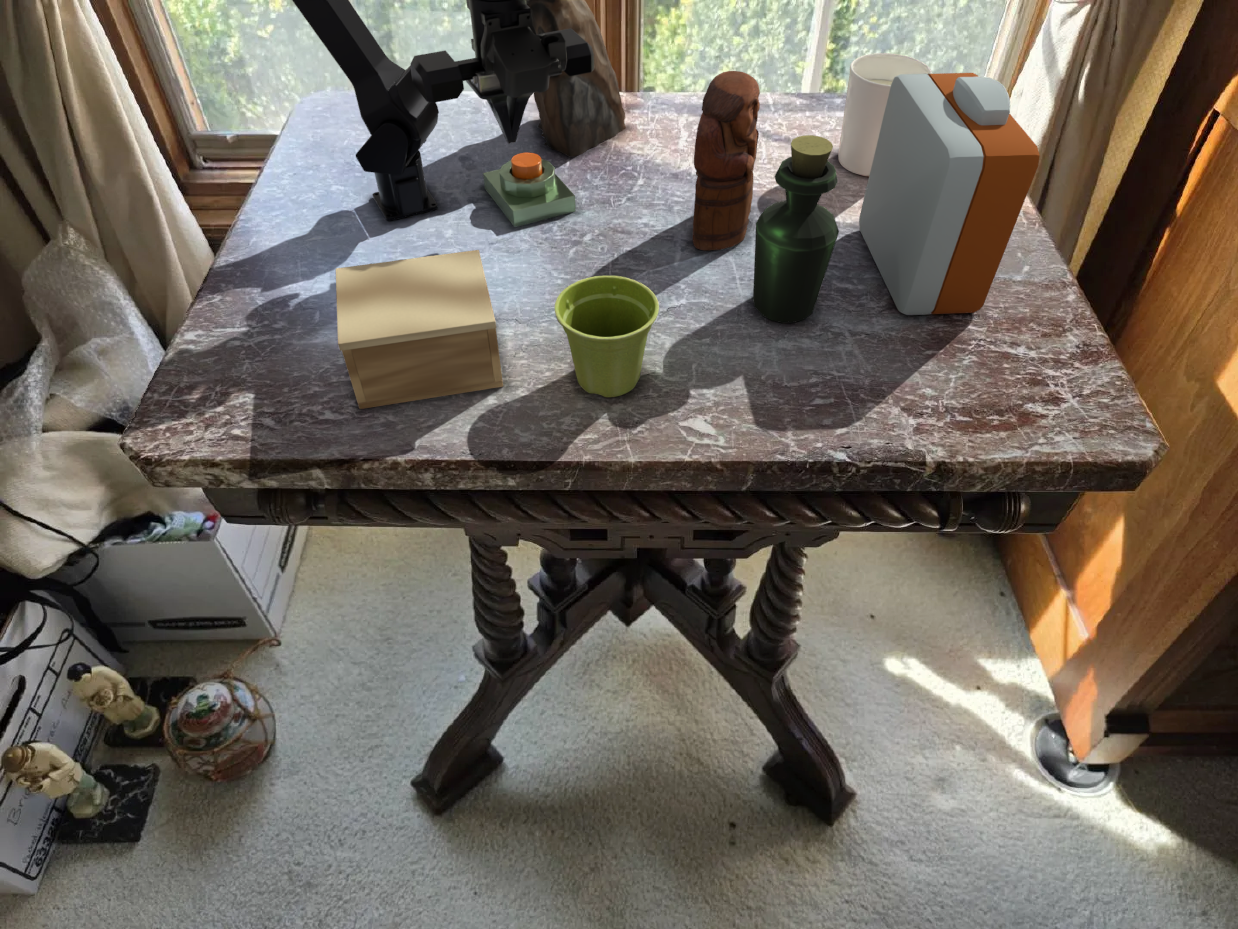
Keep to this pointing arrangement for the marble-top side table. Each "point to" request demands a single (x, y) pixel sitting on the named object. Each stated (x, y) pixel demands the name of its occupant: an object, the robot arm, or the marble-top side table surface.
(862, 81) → the candle holder
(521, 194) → the button block
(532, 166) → the button
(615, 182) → the marble-top side table surface
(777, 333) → the marble-top side table surface
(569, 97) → the owl
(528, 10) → the robot arm
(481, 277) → the lid
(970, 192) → the alarm clock
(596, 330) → the plant pot
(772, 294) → the potion bottle
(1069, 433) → the marble-top side table surface
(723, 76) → the wooden figurine
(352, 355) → the chest
